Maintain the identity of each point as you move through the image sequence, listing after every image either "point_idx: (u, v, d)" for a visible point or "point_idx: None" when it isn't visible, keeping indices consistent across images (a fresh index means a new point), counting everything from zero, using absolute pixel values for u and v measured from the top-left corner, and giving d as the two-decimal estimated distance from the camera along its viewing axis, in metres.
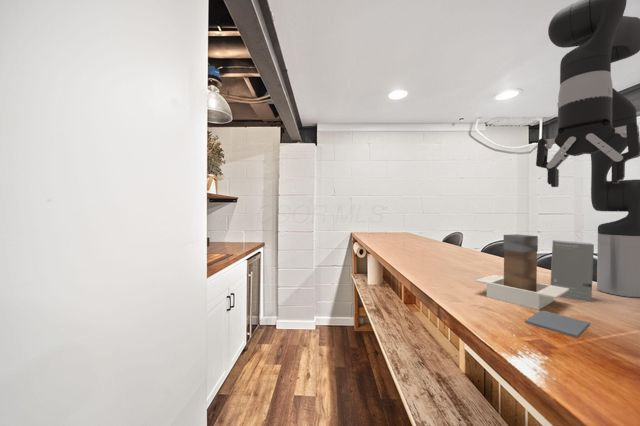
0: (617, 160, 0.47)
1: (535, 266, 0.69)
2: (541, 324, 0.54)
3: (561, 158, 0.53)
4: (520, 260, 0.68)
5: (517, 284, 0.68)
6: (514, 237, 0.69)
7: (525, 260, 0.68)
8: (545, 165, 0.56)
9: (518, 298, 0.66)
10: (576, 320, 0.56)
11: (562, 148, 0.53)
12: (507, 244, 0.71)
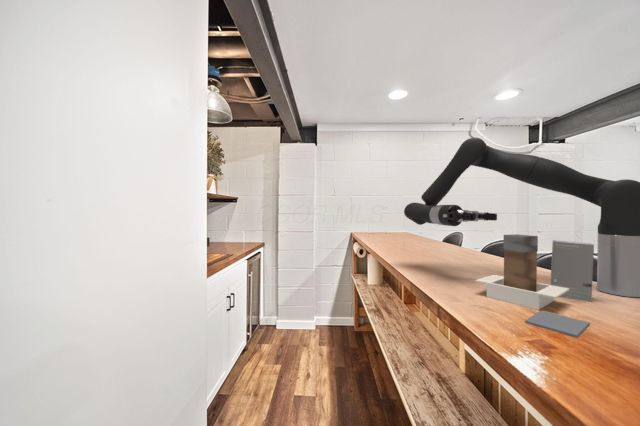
0: (462, 220, 0.83)
1: (535, 266, 0.69)
2: (541, 324, 0.54)
3: (477, 219, 0.86)
4: (520, 260, 0.68)
5: (517, 284, 0.68)
6: (514, 237, 0.69)
7: (525, 260, 0.68)
8: None
9: (518, 298, 0.66)
10: (576, 320, 0.56)
11: None
12: (507, 244, 0.71)
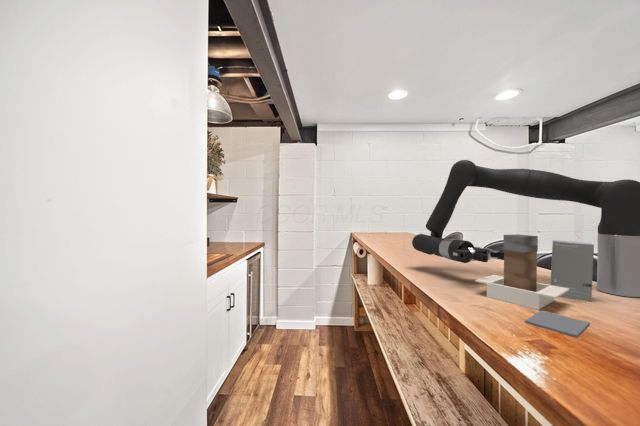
0: None
1: (535, 266, 0.69)
2: (541, 324, 0.54)
3: (489, 258, 0.83)
4: (520, 260, 0.68)
5: (517, 284, 0.68)
6: (514, 237, 0.69)
7: (525, 260, 0.68)
8: None
9: (518, 298, 0.66)
10: (576, 320, 0.56)
11: None
12: (507, 244, 0.71)
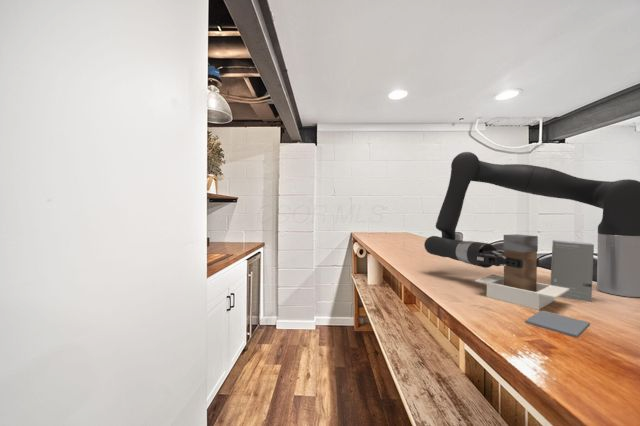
0: (506, 265, 0.71)
1: (535, 266, 0.69)
2: (541, 324, 0.54)
3: None
4: None
5: (517, 284, 0.68)
6: (514, 237, 0.69)
7: (525, 260, 0.68)
8: None
9: (518, 298, 0.66)
10: (576, 320, 0.56)
11: None
12: (507, 244, 0.71)
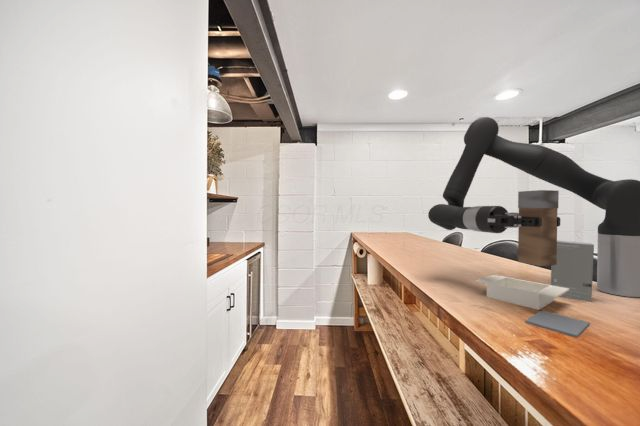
0: None
1: (555, 225, 0.60)
2: (541, 324, 0.54)
3: None
4: None
5: (535, 246, 0.60)
6: (531, 192, 0.60)
7: (544, 217, 0.59)
8: None
9: (518, 298, 0.66)
10: (576, 320, 0.56)
11: None
12: (522, 202, 0.62)
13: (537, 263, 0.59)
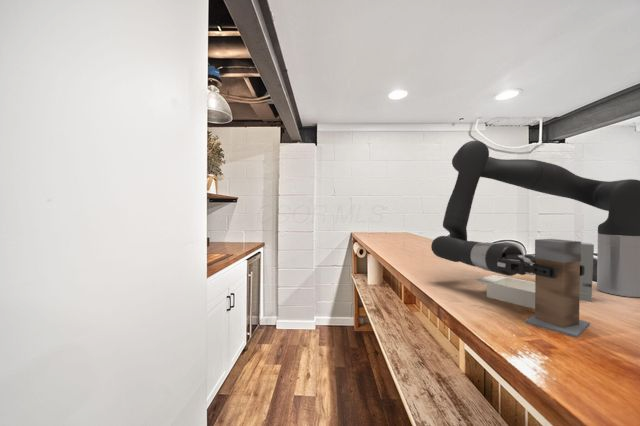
0: (533, 274, 0.56)
1: (578, 280, 0.53)
2: (541, 324, 0.54)
3: None
4: (559, 273, 0.52)
5: (555, 304, 0.53)
6: (550, 243, 0.54)
7: (566, 273, 0.52)
8: None
9: (518, 298, 0.66)
10: None
11: None
12: (540, 252, 0.56)
13: (558, 324, 0.52)
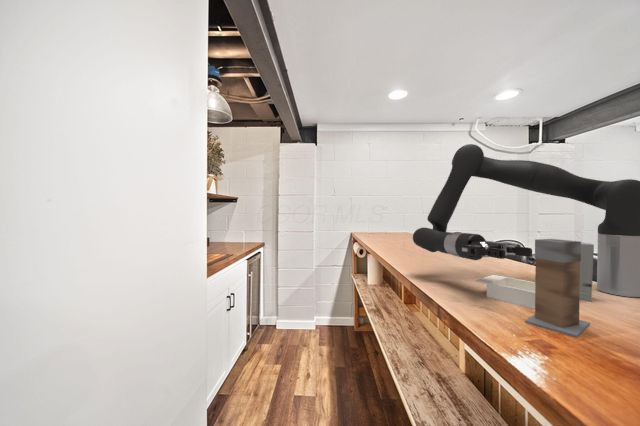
0: (488, 256, 0.66)
1: (578, 280, 0.53)
2: (541, 324, 0.54)
3: (505, 254, 0.70)
4: (559, 273, 0.52)
5: (555, 304, 0.53)
6: (550, 243, 0.54)
7: (566, 273, 0.52)
8: None
9: (518, 298, 0.66)
10: None
11: None
12: (540, 252, 0.56)
13: (558, 324, 0.52)
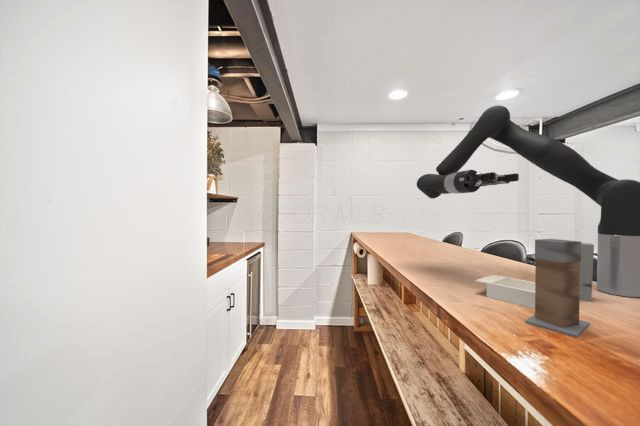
0: (481, 181, 0.78)
1: (578, 280, 0.53)
2: (541, 324, 0.54)
3: (496, 182, 0.81)
4: (559, 273, 0.52)
5: (555, 304, 0.53)
6: (550, 243, 0.54)
7: (566, 273, 0.52)
8: None
9: (518, 298, 0.66)
10: None
11: None
12: (540, 252, 0.56)
13: (558, 324, 0.52)
